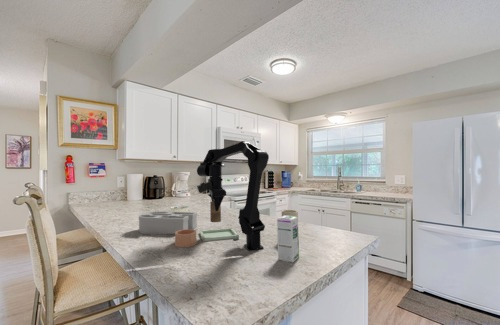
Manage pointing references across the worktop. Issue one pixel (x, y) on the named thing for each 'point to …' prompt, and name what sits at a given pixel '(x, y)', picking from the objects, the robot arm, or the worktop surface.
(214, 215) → the pepper mill
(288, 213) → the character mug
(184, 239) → the utensil pot
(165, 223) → the ice cube tray
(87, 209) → the worktop surface
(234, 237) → the tray
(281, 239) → the syrup box
